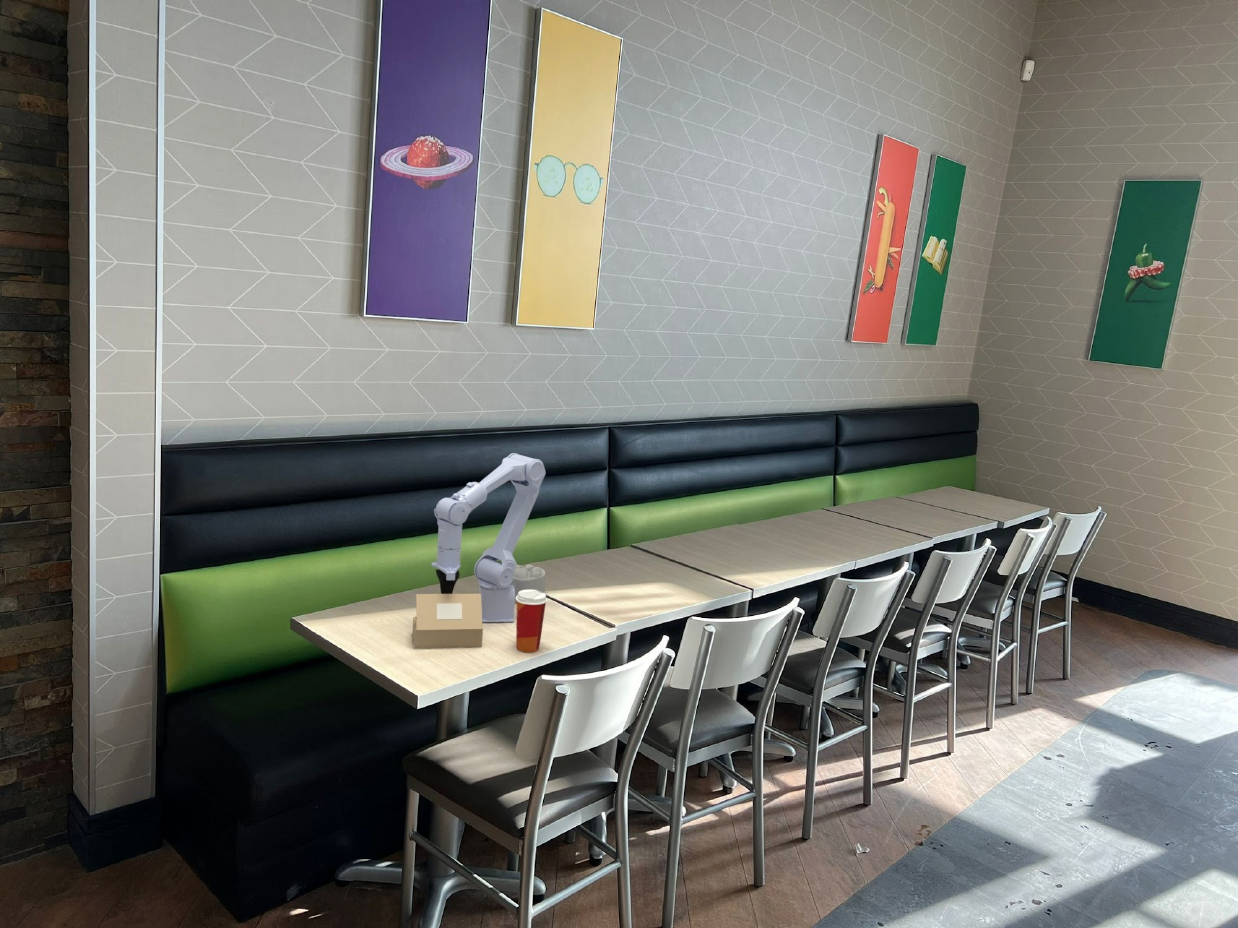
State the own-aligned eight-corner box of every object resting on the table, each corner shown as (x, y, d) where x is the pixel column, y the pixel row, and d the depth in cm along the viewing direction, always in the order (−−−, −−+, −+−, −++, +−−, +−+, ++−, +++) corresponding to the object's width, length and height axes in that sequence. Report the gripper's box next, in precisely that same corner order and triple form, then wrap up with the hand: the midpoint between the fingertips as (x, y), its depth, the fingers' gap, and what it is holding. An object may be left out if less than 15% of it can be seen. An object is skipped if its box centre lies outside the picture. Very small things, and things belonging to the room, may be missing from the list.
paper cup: (527, 639, 229) (531, 586, 227) (549, 649, 225) (554, 595, 222) (505, 647, 223) (508, 592, 221) (527, 657, 219) (531, 601, 216)
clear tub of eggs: (495, 596, 258) (497, 567, 257) (526, 586, 269) (528, 558, 267) (522, 606, 252) (524, 576, 251) (552, 596, 263) (555, 567, 261)
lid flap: (480, 594, 226) (481, 593, 225) (482, 629, 221) (482, 628, 221) (416, 594, 221) (416, 593, 221) (416, 630, 217) (416, 629, 217)
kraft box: (477, 632, 231) (478, 615, 230) (481, 646, 222) (482, 629, 222) (412, 633, 226) (413, 616, 225) (414, 648, 218) (415, 630, 217)
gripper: (430, 537, 232) (427, 588, 234) (435, 555, 218) (432, 609, 221) (458, 538, 234) (455, 588, 236) (465, 555, 220) (461, 608, 223)
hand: (446, 598), depth 229 cm, fingers closed
